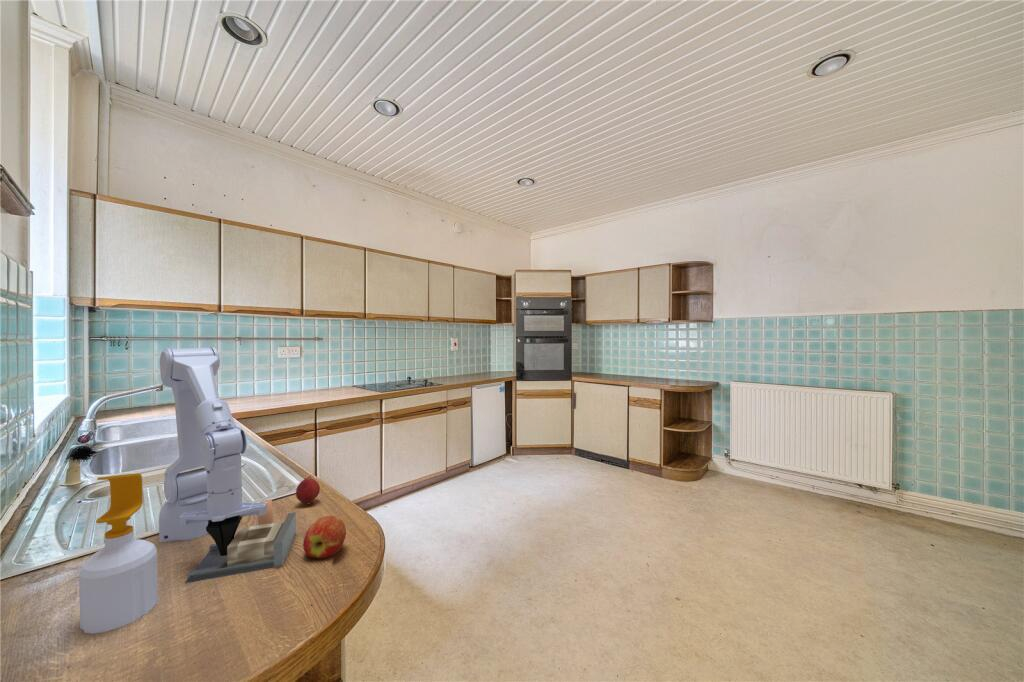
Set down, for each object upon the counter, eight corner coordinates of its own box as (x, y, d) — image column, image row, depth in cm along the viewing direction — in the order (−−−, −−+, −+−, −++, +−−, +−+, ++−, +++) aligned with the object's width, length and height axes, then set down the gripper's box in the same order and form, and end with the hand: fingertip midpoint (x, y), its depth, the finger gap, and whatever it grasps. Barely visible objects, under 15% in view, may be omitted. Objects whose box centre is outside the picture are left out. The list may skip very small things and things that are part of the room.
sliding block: (227, 567, 76) (227, 547, 75) (241, 545, 83) (241, 527, 83) (273, 559, 78) (273, 540, 78) (283, 539, 86) (283, 521, 86)
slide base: (184, 588, 71) (184, 556, 71) (213, 550, 84) (213, 523, 83) (282, 571, 76) (282, 541, 76) (296, 537, 89) (295, 512, 89)
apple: (297, 567, 78) (297, 528, 77) (315, 544, 86) (314, 509, 86) (338, 565, 78) (337, 527, 78) (351, 542, 87) (351, 508, 86)
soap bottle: (66, 647, 58) (61, 487, 57) (101, 607, 66) (97, 467, 66) (142, 629, 62) (139, 478, 61) (167, 593, 70) (164, 460, 69)
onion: (309, 509, 103) (309, 480, 102) (291, 507, 104) (290, 478, 104) (324, 500, 108) (324, 472, 108) (306, 498, 109) (306, 470, 109)
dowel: (256, 535, 90) (255, 506, 89) (260, 529, 92) (259, 500, 92) (271, 533, 91) (270, 504, 90) (274, 527, 93) (273, 499, 93)
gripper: (171, 501, 72) (172, 571, 73) (259, 490, 77) (260, 557, 77) (188, 486, 79) (190, 551, 79) (269, 478, 84) (270, 539, 84)
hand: (225, 553), depth 79 cm, fingers closed
